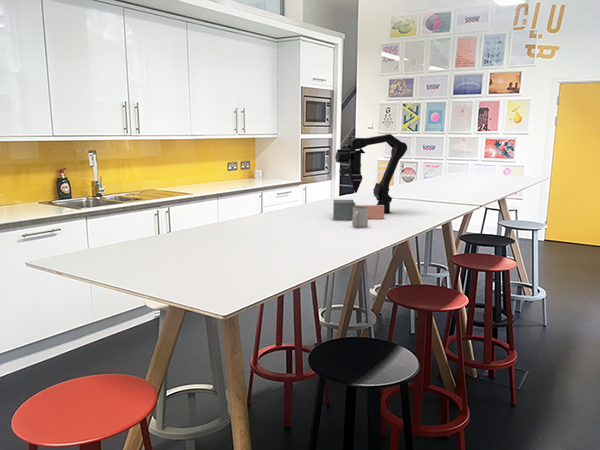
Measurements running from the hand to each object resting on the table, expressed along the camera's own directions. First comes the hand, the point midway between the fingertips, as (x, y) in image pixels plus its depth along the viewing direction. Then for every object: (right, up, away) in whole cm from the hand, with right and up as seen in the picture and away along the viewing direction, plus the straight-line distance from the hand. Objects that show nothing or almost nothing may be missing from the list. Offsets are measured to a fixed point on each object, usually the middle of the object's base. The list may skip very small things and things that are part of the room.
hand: (354, 191), depth 268 cm
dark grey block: (-7, -14, -10) cm, 19 cm away
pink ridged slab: (+5, -14, -11) cm, 18 cm away
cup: (-1, -19, -30) cm, 35 cm away
